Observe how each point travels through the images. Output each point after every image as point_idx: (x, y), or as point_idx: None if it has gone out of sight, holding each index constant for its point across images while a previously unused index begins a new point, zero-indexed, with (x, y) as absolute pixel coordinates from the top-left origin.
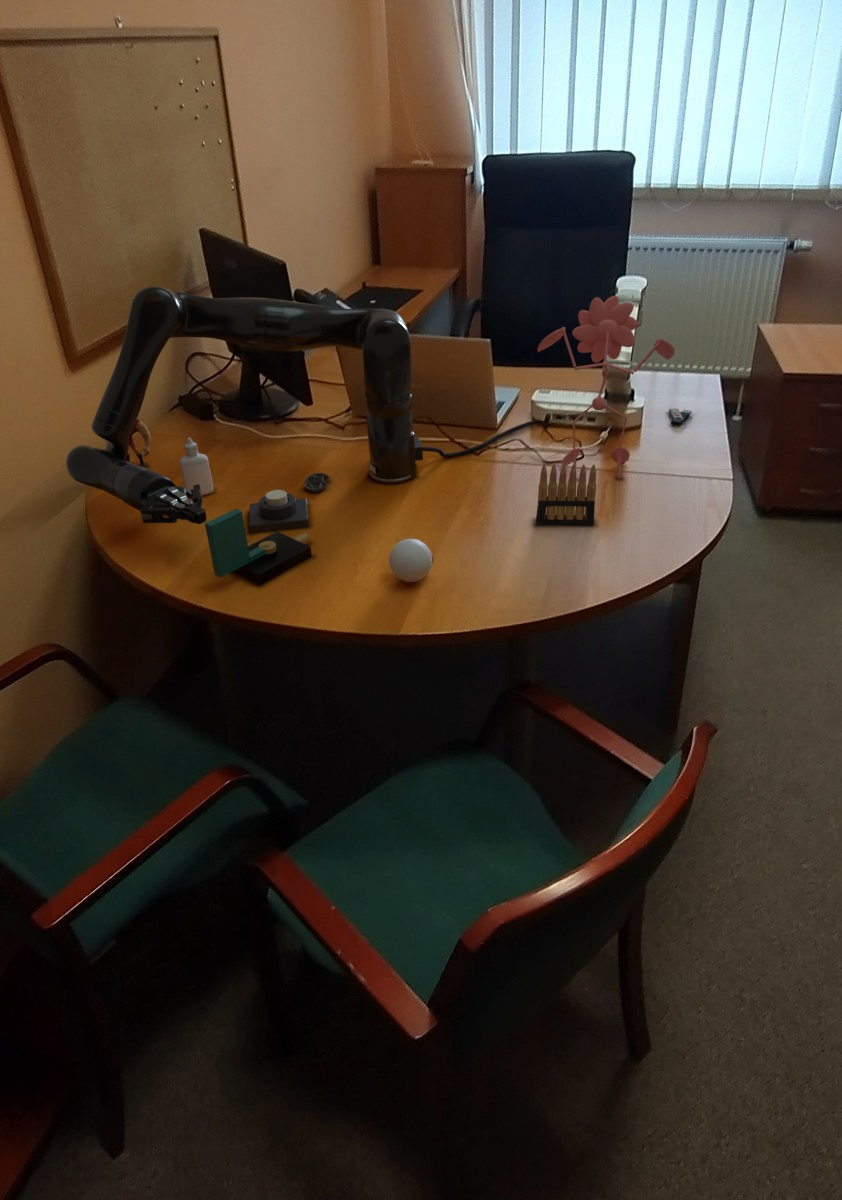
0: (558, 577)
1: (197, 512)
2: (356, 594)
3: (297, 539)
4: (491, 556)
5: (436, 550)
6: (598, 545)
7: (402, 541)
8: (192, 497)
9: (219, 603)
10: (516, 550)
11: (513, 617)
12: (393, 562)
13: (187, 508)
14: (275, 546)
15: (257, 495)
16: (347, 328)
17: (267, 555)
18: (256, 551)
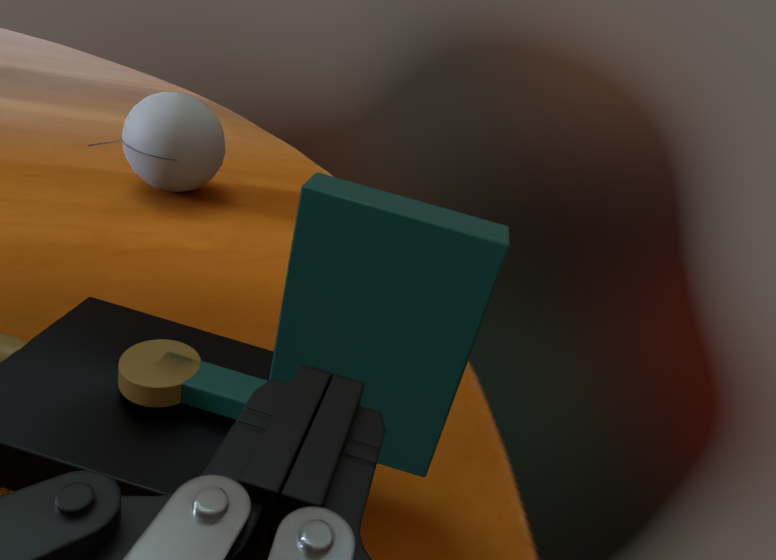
0: (124, 96)
1: (351, 382)
2: (267, 241)
3: (21, 340)
4: (55, 124)
5: (29, 164)
6: (8, 64)
7: (173, 102)
8: (71, 541)
9: (477, 470)
10: (27, 106)
11: (251, 129)
12: (214, 145)
13: (328, 472)
14: (158, 342)
15: None
16: None
17: None
18: (226, 377)
